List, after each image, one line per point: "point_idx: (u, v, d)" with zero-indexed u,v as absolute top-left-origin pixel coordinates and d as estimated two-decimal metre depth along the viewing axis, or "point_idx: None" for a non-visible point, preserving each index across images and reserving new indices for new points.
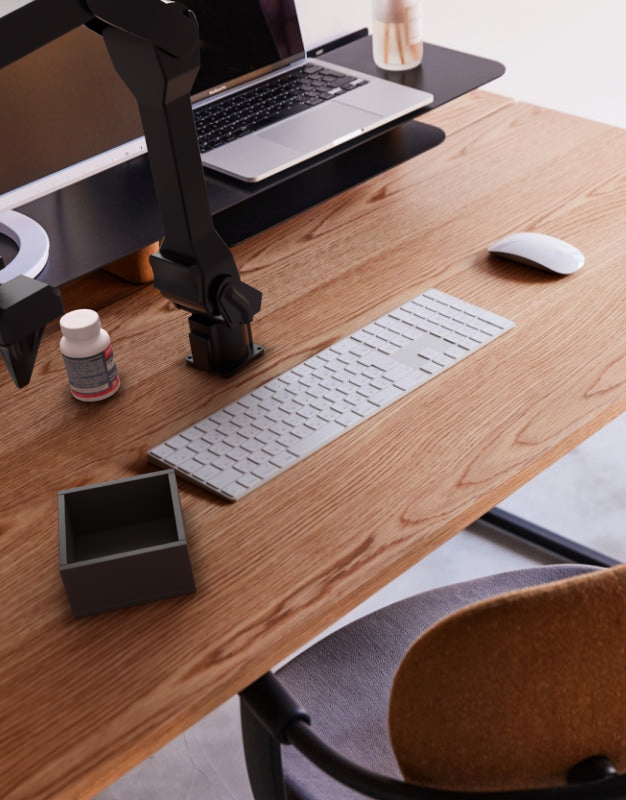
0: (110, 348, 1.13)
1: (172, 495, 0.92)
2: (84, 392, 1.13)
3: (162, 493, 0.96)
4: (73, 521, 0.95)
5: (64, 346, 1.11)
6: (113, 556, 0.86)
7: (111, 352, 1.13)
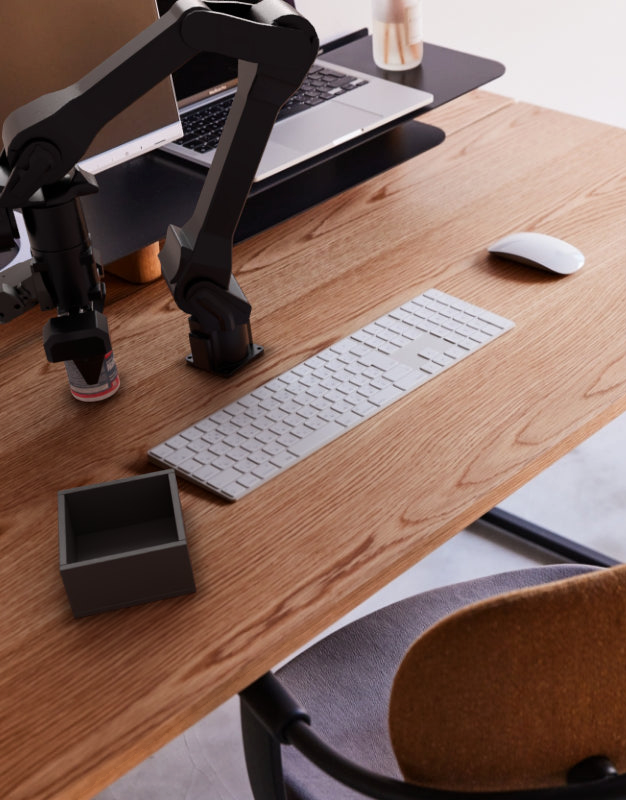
0: None
1: (172, 495, 0.92)
2: (84, 392, 1.13)
3: (162, 493, 0.96)
4: (73, 521, 0.95)
5: None
6: (113, 556, 0.86)
7: (111, 352, 1.13)
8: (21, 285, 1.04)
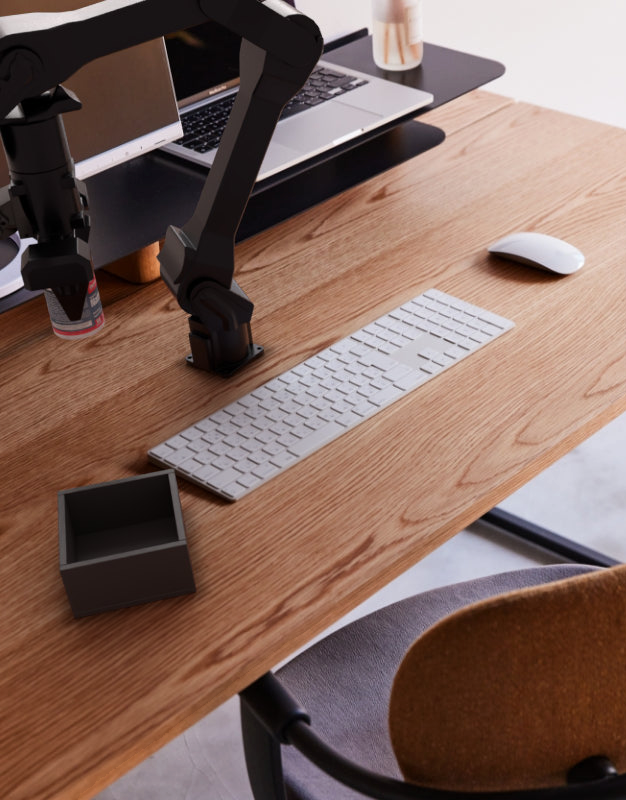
0: (94, 283, 1.07)
1: (172, 495, 0.92)
2: (66, 329, 1.07)
3: (162, 493, 0.96)
4: (73, 521, 0.95)
5: None
6: (113, 556, 0.86)
7: (95, 287, 1.07)
8: None
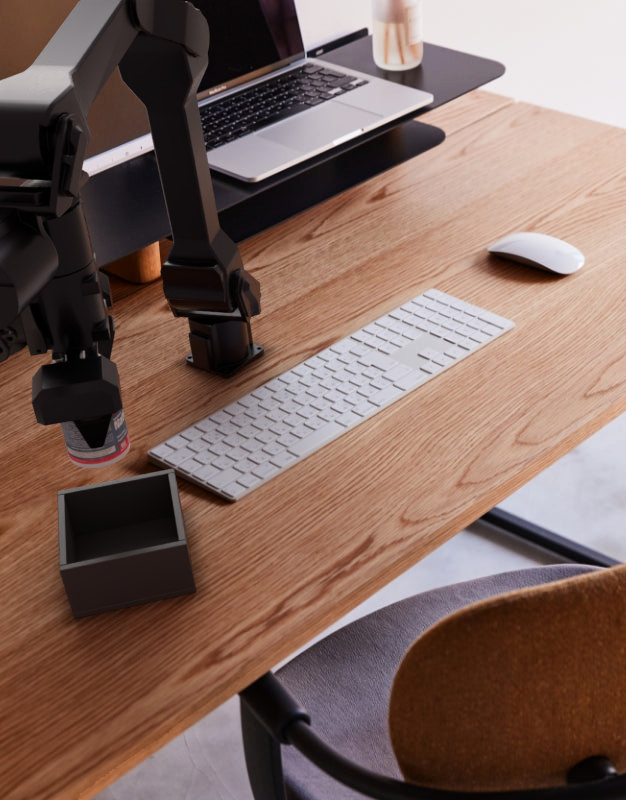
0: None
1: (172, 495, 0.92)
2: (84, 456, 0.88)
3: (162, 493, 0.96)
4: (73, 521, 0.95)
5: None
6: (113, 556, 0.86)
7: None
8: None
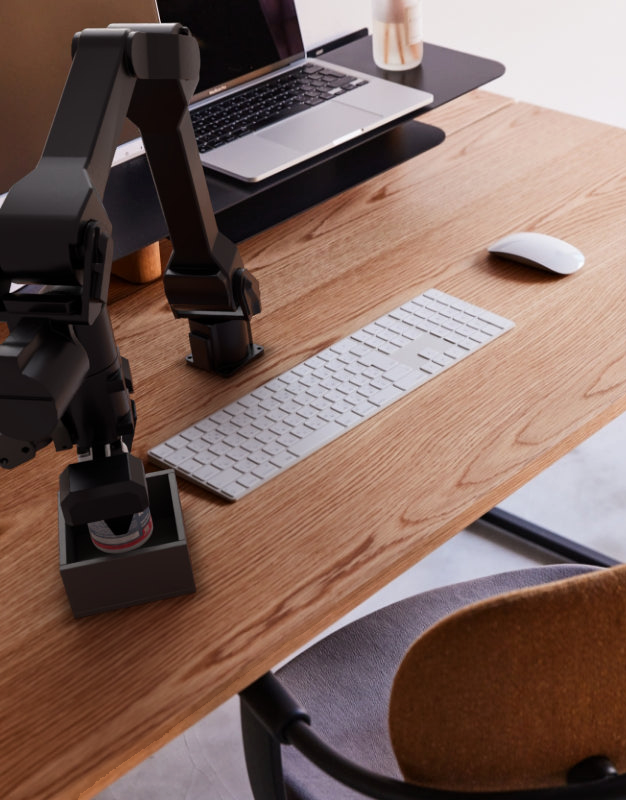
0: None
1: (172, 495, 0.92)
2: (108, 543, 0.89)
3: (162, 493, 0.96)
4: None
5: None
6: (113, 556, 0.86)
7: None
8: None
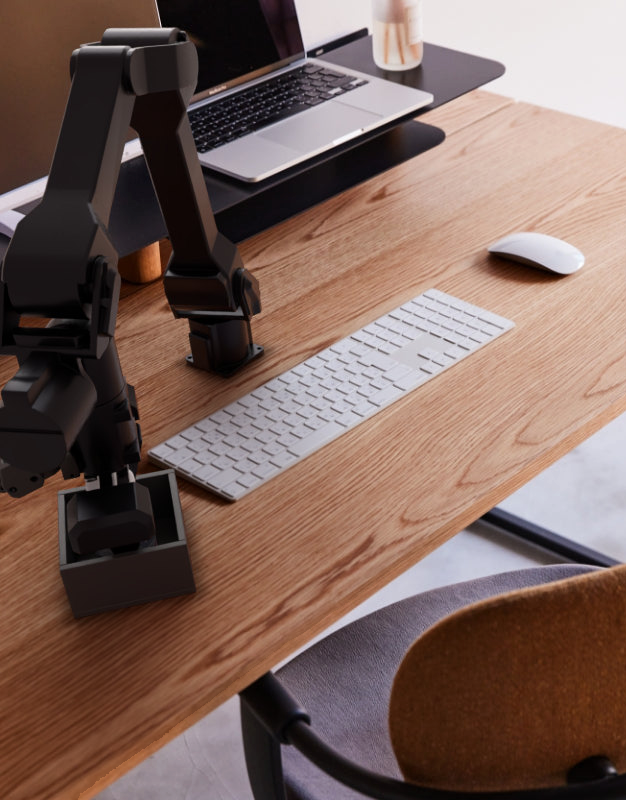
0: None
1: (172, 495, 0.92)
2: None
3: (162, 493, 0.96)
4: None
5: None
6: (113, 556, 0.86)
7: None
8: None
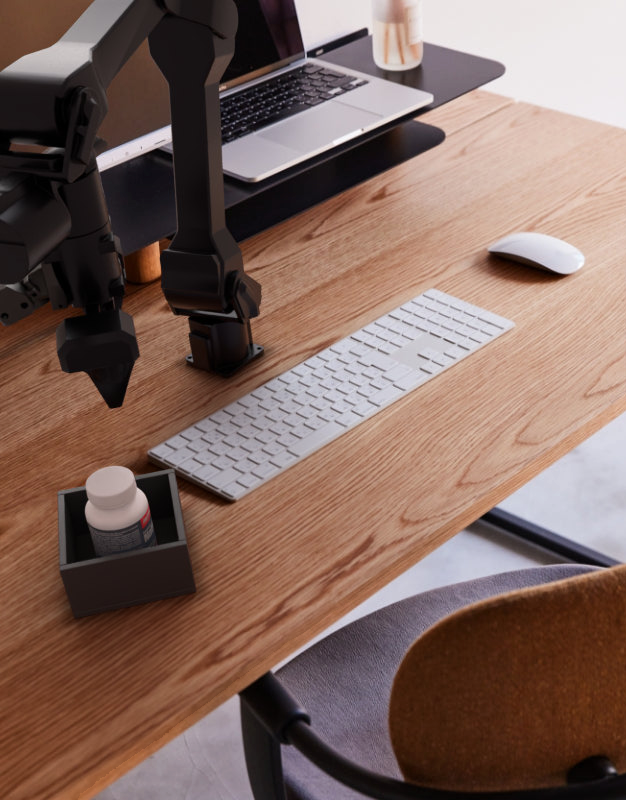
0: (148, 514, 0.90)
1: (172, 495, 0.92)
2: None
3: (162, 493, 0.96)
4: (73, 521, 0.95)
5: (90, 515, 0.88)
6: (113, 556, 0.86)
7: (149, 518, 0.90)
8: (28, 279, 0.86)
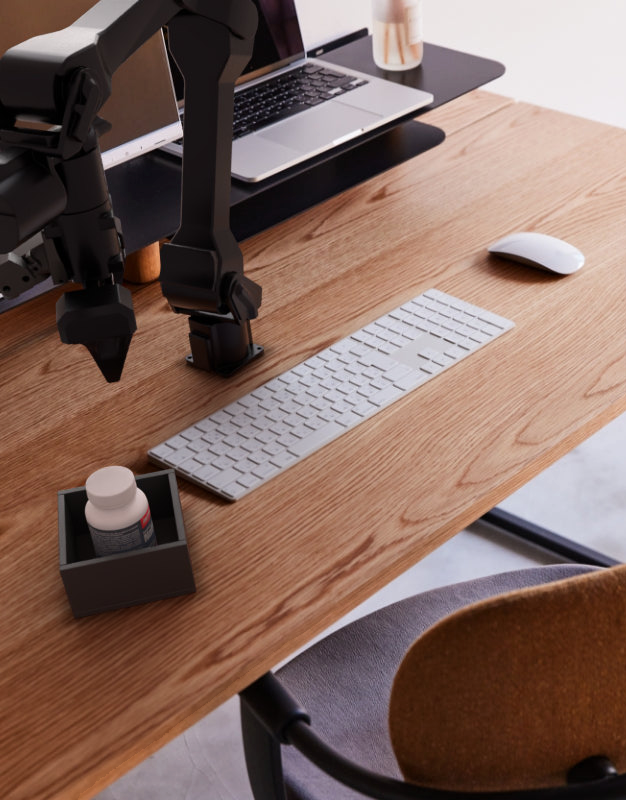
0: (148, 514, 0.90)
1: (172, 495, 0.92)
2: None
3: (162, 493, 0.96)
4: (73, 521, 0.95)
5: (90, 515, 0.88)
6: (113, 556, 0.86)
7: (149, 518, 0.90)
8: (30, 254, 0.89)
